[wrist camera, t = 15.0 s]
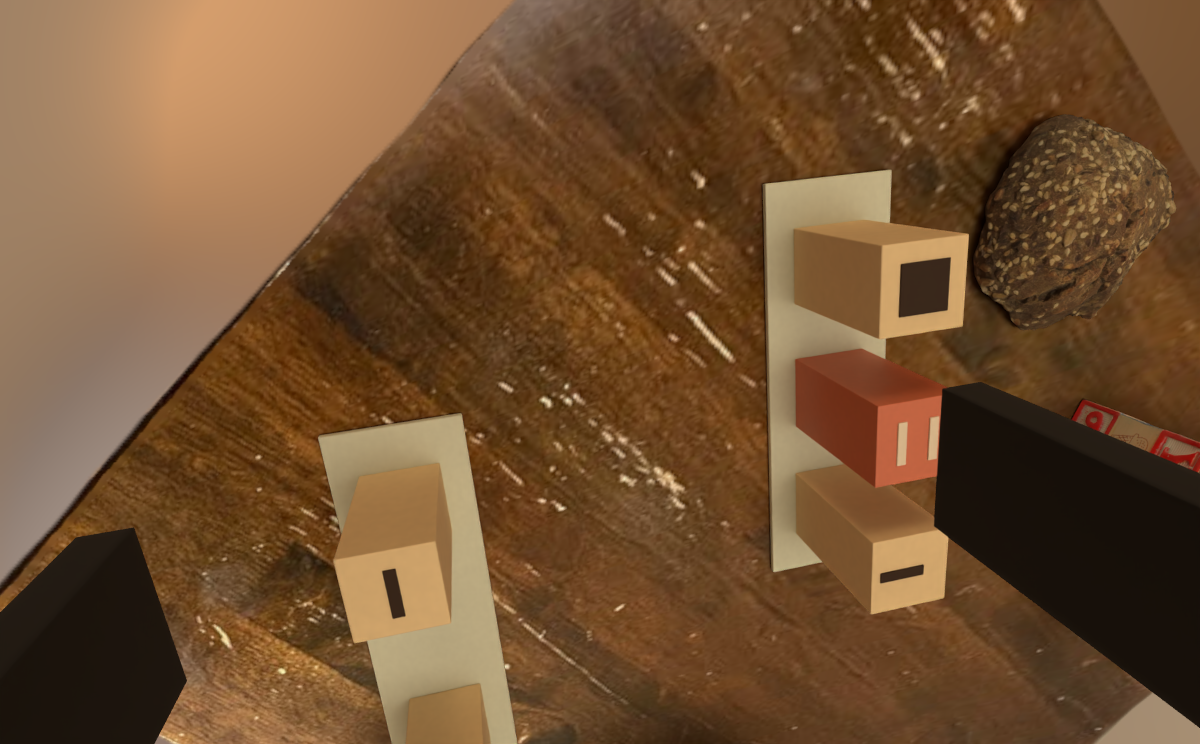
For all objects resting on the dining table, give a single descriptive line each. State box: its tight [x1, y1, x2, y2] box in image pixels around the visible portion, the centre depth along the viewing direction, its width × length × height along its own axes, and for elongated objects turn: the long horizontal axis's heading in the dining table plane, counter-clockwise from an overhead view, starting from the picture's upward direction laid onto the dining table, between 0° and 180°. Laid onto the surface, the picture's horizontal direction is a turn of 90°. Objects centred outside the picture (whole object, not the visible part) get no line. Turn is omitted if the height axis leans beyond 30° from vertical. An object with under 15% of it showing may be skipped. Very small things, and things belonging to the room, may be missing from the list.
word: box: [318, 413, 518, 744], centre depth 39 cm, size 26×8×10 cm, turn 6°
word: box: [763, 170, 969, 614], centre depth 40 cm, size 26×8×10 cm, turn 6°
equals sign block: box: [795, 349, 948, 488], centre depth 40 cm, size 5×5×9 cm
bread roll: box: [973, 115, 1176, 330], centre depth 42 cm, size 13×12×5 cm
